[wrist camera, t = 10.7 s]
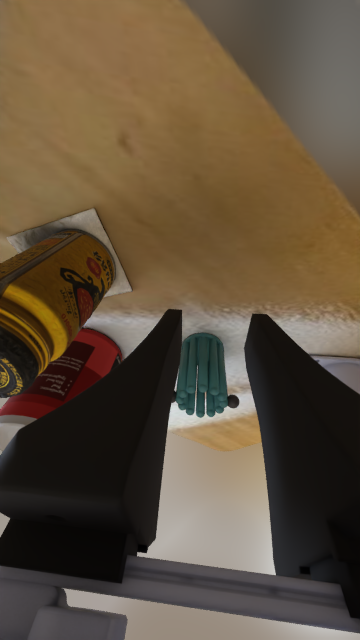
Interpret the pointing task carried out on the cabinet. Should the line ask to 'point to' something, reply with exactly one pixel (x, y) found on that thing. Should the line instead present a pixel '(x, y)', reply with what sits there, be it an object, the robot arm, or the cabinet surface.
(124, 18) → the cabinet surface
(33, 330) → the condiment
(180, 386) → the pencil holder
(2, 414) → the canned food
